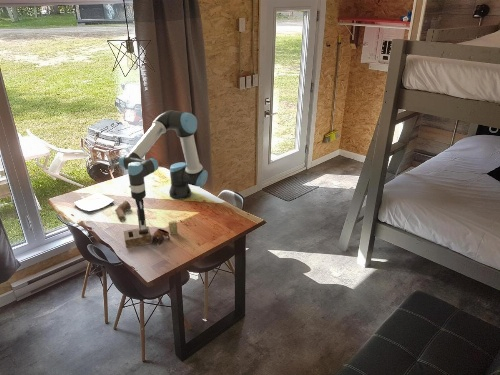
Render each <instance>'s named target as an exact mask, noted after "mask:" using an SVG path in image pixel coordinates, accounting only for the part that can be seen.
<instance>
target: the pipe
mask: <svg viewBox="0 0 500 375" xmlns="http://www.w3.org/2000/svg"><path fill="white" fill-rule="evenodd" d="M131 208H132V206H131V204H130V203H129V201H127V200H124V202H122V203H121V204H119V205H118V206H117V207H116V209H115V210H114V212H115V213H116V215H117V217H118V219H119V220H120V221H124V220H125V219H126V216H125V212H127V211H128V210H131Z"/></svg>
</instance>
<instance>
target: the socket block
mask: <svg viewBox="0 0 500 375" xmlns="http://www.w3.org/2000/svg"><path fill="white" fill-rule="evenodd" d="M146 229H147V231H141V232H140V229H139V227H138V228H131V229H126V230H123V236H124V242H125V247H126V249H128V248H133V247H138V246H144V245H148V244H153V243H152V238H153V237H152V234H151V231H150V227H149V226H146Z"/></svg>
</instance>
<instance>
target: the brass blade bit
mask: <svg viewBox="0 0 500 375" xmlns="http://www.w3.org/2000/svg"><path fill="white" fill-rule="evenodd" d="M168 229H169V230H168V232H169V236H172V235H176V234H177V235H178V234H179V232H178V221H177V220H171V221H168Z"/></svg>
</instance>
